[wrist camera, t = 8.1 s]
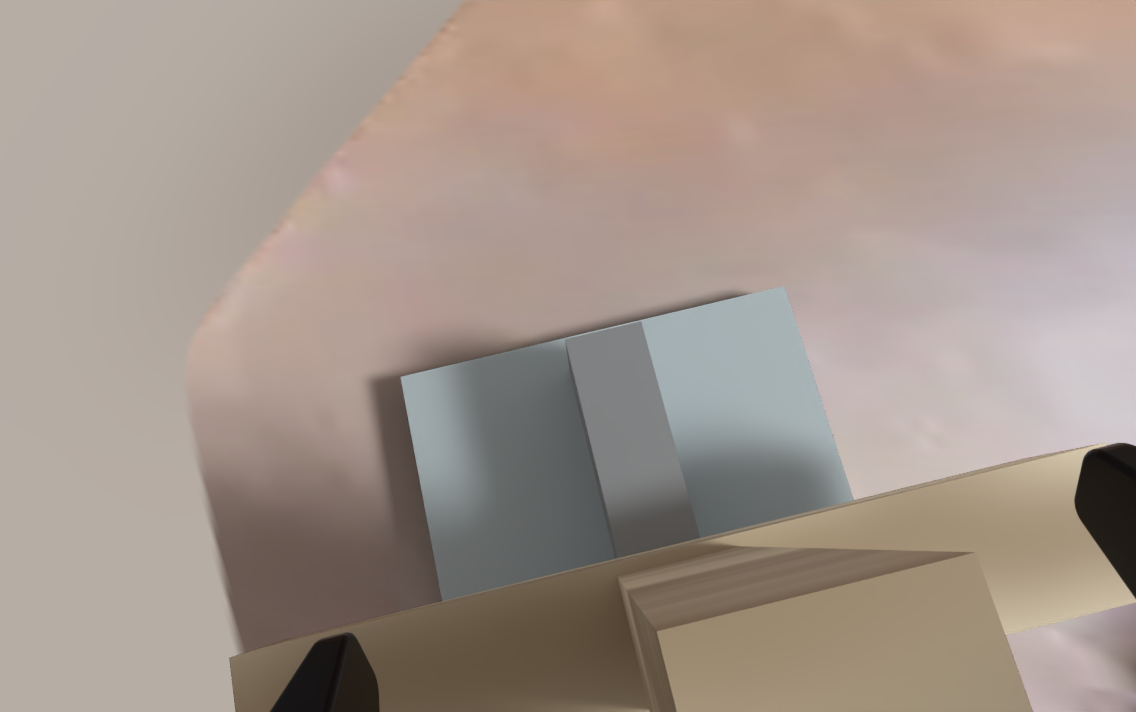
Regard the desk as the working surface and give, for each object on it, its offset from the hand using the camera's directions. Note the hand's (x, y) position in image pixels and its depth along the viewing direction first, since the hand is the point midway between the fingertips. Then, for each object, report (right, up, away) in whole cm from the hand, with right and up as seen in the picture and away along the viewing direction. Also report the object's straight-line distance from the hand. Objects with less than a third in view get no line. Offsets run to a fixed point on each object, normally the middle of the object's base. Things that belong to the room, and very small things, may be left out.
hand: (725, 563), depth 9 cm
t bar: (+1, -3, +8) cm, 9 cm away
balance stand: (+1, -4, +13) cm, 14 cm away
